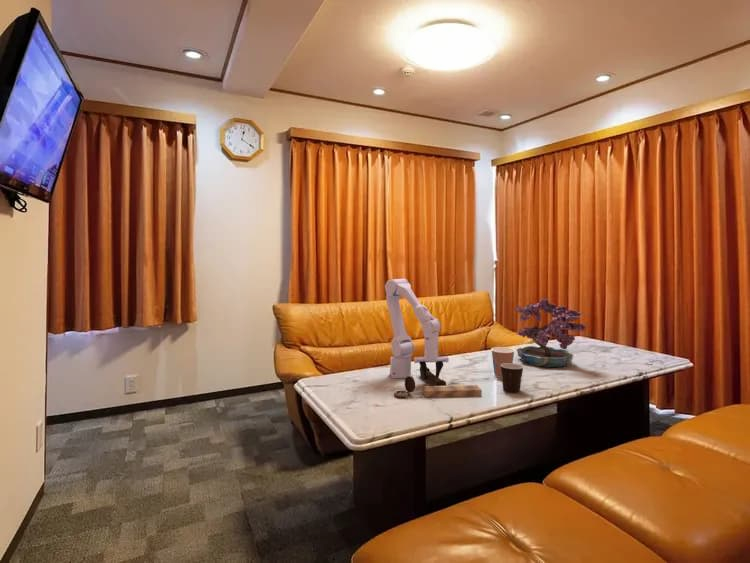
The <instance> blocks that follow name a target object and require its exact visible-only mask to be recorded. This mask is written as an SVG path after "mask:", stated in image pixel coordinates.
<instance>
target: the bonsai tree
mask: <svg viewBox="0 0 750 563" xmlns="http://www.w3.org/2000/svg"><path fill="white" fill-rule="evenodd" d="M540 310H541V311H543V312H544V314H551V315H552V316H553V317H551V320H549V321H550V322H549V323H547V324H545V325H543V326H539V325H537V324H534V325H532V327H524V328H522V329H521V330H517V332H516V333H517V335H518V336H522V338H525V337H526V338H527V339H530V340H531V339H532V342H534V343H535V344H536V345H538V346H533V345H529V346H525V347H523V348H521V347H518V348H517V349H516V352H517V356H518V357H519V358H520V360H522V362H524V363H525V364H528V365H532V366H536V367H544V368H545V367H546V368H560V367H565V366H566V365H567V364H568V363H570V362H572V360H573V357H574V354H572V353H571V352H569V350H567V348H568V346H569V347H570V345H572V344H573V343H574V341H575V340H576V337H575V336H574V334H569V333H568V332H567V331H580V332H581V333H582V332H583V331H585V330H586V325H585V324H584V323H573V322H574V321H575V322H577V320H578V319H579V317H580V315H582V312H581V311H577V310H576V309H569V310H567V307H566V306H565V305H560V306H557V307H556V304H555V303H553V302H550V301H549V299H548V298H542V299H539V302H537V303H534V304H533V303H532V302H531V303H529V304H526V305H525V306H523V307H522V306H517V307H515V311H516V312H518V313H519V314H521V313H522V314H521V315H520V316H519V318H520V319H519V320H520V321H523V322H526V321H527V320H529V319H530V318H532V317H534V318H535V320H536V321H537V322H538V323H540V321H541V320H542V315H541V314H542V313H541V312H540ZM552 337H553V338H555V339H556V342H558V343H559V344H558V346H559V348H554V347H551V346H547V345H548V343H549V340H552V339H551V338H552Z"/></svg>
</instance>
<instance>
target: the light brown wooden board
mask: <svg viewBox="0 0 750 563" xmlns="http://www.w3.org/2000/svg"><path fill="white" fill-rule="evenodd" d="M482 391H483V390H482V389H481V388H480V387H479V386H478V384H465V385H464V384H462V385H461V384H457V385H454V384H453V385H446V386H432V385H423V386H422V394H423V396H424V398H426V399H427V398H458V397H459V398H462V397H463V398H464V397H468V398H469V397H482V394H483V393H482Z"/></svg>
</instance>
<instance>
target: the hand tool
mask: <svg viewBox="0 0 750 563" xmlns="http://www.w3.org/2000/svg"><path fill="white" fill-rule="evenodd" d="M419 374H420V376H419V377H420V378H421V379H422V381H426V382H427V383H429V384H430V386H447V382H446V380H443V379H441V378H440V376H439V377H437V376H436V374H435V373H432V372H431V371H430V368H429V367H426V380H425V379H424V375H423V371H422V368H421V366H419Z"/></svg>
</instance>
